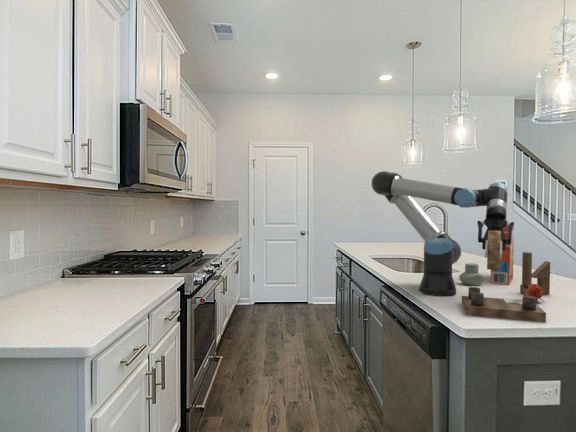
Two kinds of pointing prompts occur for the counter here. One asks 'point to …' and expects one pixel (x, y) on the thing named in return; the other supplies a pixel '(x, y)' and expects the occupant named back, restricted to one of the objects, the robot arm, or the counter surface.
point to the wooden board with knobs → (502, 307)
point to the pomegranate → (533, 291)
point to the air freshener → (471, 275)
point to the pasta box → (504, 263)
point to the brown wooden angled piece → (535, 273)
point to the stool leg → (493, 250)
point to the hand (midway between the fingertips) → (493, 255)
